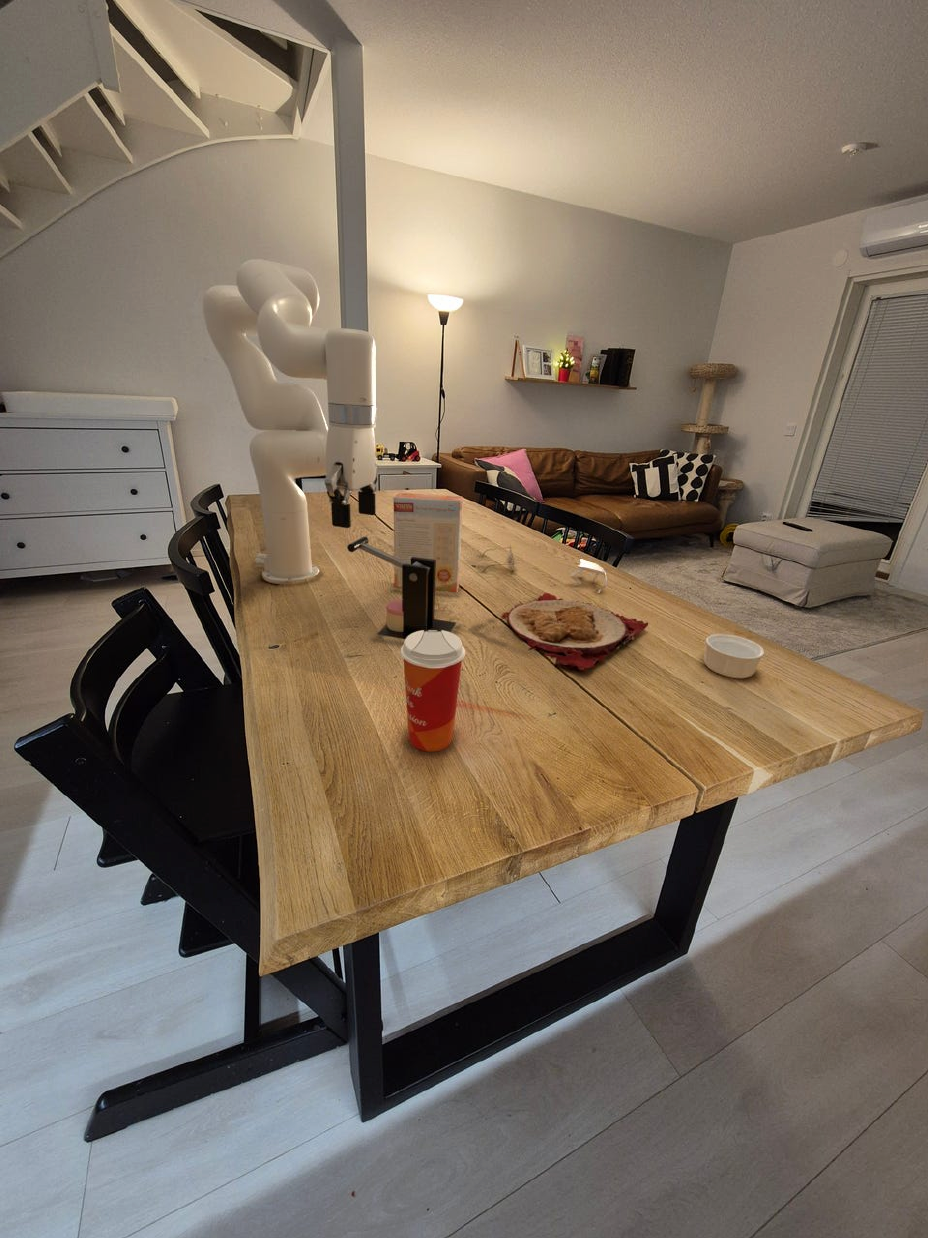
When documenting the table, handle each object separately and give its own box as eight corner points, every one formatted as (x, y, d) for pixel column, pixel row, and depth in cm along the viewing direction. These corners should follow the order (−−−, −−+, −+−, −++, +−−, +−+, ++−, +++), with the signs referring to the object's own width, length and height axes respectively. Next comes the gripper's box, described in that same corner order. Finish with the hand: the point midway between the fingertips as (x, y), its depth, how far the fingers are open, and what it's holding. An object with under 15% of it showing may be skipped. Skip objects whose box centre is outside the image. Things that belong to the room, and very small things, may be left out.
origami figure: (558, 581, 122) (560, 562, 120) (581, 575, 127) (584, 557, 125) (597, 597, 113) (600, 577, 111) (620, 591, 118) (624, 571, 116)
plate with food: (647, 632, 98) (651, 615, 97) (583, 676, 80) (586, 657, 79) (545, 599, 112) (547, 584, 111) (471, 630, 94) (472, 613, 93)
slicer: (376, 640, 89) (375, 566, 83) (398, 618, 98) (398, 550, 92) (441, 651, 86) (443, 575, 81) (457, 628, 95) (460, 558, 90)
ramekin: (734, 685, 81) (741, 662, 79) (689, 660, 88) (694, 638, 86) (768, 674, 85) (776, 651, 83) (722, 651, 92) (728, 630, 90)
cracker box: (459, 587, 115) (464, 495, 107) (456, 596, 110) (461, 500, 101) (399, 582, 116) (399, 490, 108) (393, 591, 111) (392, 495, 102)
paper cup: (401, 720, 68) (401, 627, 62) (458, 719, 69) (463, 627, 63) (399, 758, 61) (399, 657, 55) (462, 757, 62) (468, 658, 56)
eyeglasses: (514, 574, 125) (514, 559, 124) (482, 575, 126) (482, 559, 124) (510, 557, 138) (510, 543, 136) (481, 558, 138) (481, 544, 137)
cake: (381, 629, 91) (381, 608, 89) (393, 617, 95) (393, 597, 94) (410, 634, 89) (411, 613, 88) (421, 621, 94) (421, 602, 93)
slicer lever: (345, 552, 86) (348, 540, 85) (360, 544, 91) (363, 532, 90) (418, 586, 85) (423, 574, 84) (429, 576, 90) (433, 564, 89)
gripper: (355, 412, 90) (357, 507, 97) (302, 416, 75) (309, 529, 82) (394, 416, 88) (393, 512, 96) (348, 421, 73) (351, 535, 80)
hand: (354, 520), depth 89 cm, fingers open, 9 cm apart
